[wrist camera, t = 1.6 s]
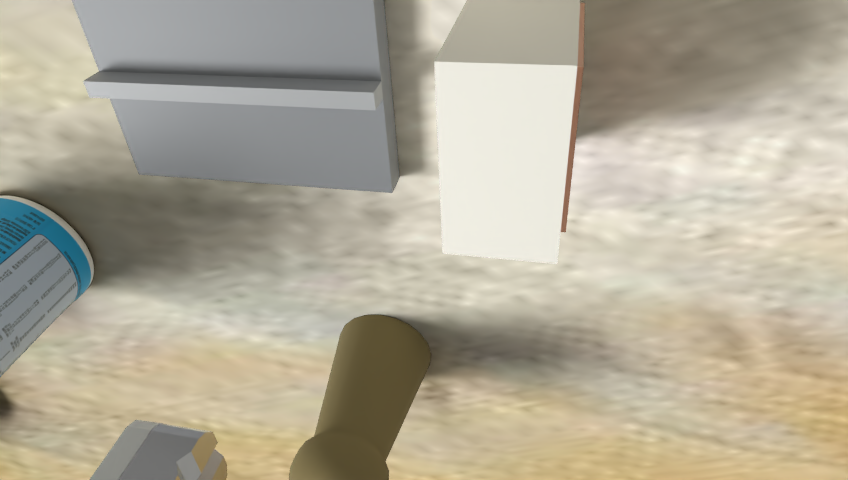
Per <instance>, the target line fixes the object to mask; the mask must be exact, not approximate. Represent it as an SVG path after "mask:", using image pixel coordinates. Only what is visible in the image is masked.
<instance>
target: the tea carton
mask: <svg viewBox="0 0 848 480" xmlns="http://www.w3.org/2000/svg"><path fill="white" fill-rule="evenodd" d="M584 17H585V3H580V0H467V1H466V3H465V5H464V7H463V9H462V11H461V13H460V14H459V16H458V18H457V20H456V22H455V24H454V26H453V28H452V29H451V31H450V33H449V35H448V37H447V39H446V41H445V42H444V44H443V46H442V48H441V50H440V52H439V54H438V55H437V57H436V59H435V61H434V69H435V92H436V115H437V138H438V161H439V184H440V207H441V230H442V253H443V254H453V255H464V256H475V257H486V258H497V259H508V260H519V261H529V262H540V263H551V264H557V262H558V252H559V242H560V232H566V224H567V215H568V205H569V196H570V187H571V178H572V168H573V159H574V150H575V141H576V131H577V122H578V113H579V104H580V94H581V85H582V76H583V65H584Z"/></svg>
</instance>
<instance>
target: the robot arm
mask: <svg viewBox="0 0 848 480" xmlns="http://www.w3.org/2000/svg"><path fill="white" fill-rule="evenodd" d="M217 443H218V442H217V440H216V438H215V436H214V434H213V432H211V431H205V430H198V429H192V428H185V427H179V426H172V425H167V424H162V423H156V422H148V421H141V420H135V421H134V422H132V423H131V424H130V425H129V426H127V427H126V428H125V430H124V431H123V433H122V434H121V436H120V437H119V438H118V440H117V441H116V443H115V444H114V446H113V447H112V448H111V450H110V451H109V453H108V454H107V456H106V457H105V458H104V460H103V461H102V463H101V464H100V466H99V467H98V468H97V470H96V471H95V473H94V474H93V476H92V477H91V478H90V480H226V478H227V464H226V461H225V459H224V456H222V455H221V454H220V453H219V452H218V451H216V450H215V449H214V448H215V447H216V445H217Z"/></svg>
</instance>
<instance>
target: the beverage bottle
mask: <svg viewBox="0 0 848 480" xmlns="http://www.w3.org/2000/svg"><path fill="white" fill-rule="evenodd" d="M93 275H94V265H93V260H92V257H91V254H90V252H89V250H88V248H87V246H86V245H85V243H84V241H83V240H82V239H81V237H80V236H79V235H78V234H77V232H76V231H75V230H74V229H73V228H72V227H71V226H70V225H69V224H68V223H67V222H65V221H64V220H63V219H62V218H61V217H59V216H58V215H56V214H55V213H54V212H52V211H50V210H49V209H47V208H45V207H43V206H42V205H40V204H37V203H35V202H33V201H30V200H27V199H24V198H20V197H15V196H0V377H1V376H2V375H3V374H4V373H5V371H6V370H7V369H8V368H9V367H10V366H11V365H12V364H13V363H14V362H15V361H16V360H17V359H18V358H19V357H20V356H21V355H22V354H23V353H24V352H25V351H26V350H27V349H28V347H29V346H30V345H31V344H32V343H33V342H34V341H35V340H36V339H37V338H38V337H39V336H40V335H41V334H42V333H43V332H44V331H45V330H46V329H47V328H48V327H49V326H50V325H51V324H52V323H53V322H54V321H55V319H56V318H57V317H58V316H59V315H60V314H61V313H62V312H63V311H64V310H65V309H67V308H68V307H69V306H70V305H71V304H72V303H73V302H74V301H75V300H77V299H78V298H79V297H80V296H81V295H82V294H83V293H84V292H85V291H86V290H87V288H88V287H89V286H90V284H91V282H92V279H93Z"/></svg>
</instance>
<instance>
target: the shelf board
mask: <svg viewBox="0 0 848 480" xmlns="http://www.w3.org/2000/svg"><path fill="white" fill-rule="evenodd" d="M72 2H73V5H74V7H75V10H76V12H77V15H78V18H79V20H80V23H81V25H82V28H83V31H84V33H85V36H86V38H87V41H88V44H89V46H90V49H91V51H92V54H93V56H94V59H95V62H96V64H97V67H98V69H99V72H97V73H96V74H94V75H93V76H91V77H89V78H88V79H86V80H84V81H83V82H84V85H85V87H86V90H87V92H88V95H89V97H90V98H110V100H111V103H112V106H113V108H114V111H115V113H116V116H117V119H118V121H119V124H120V126H121V129H122V132H123V134H124V137H125V139H126V142H127V144H128V147H129V150H130V152H131V155H132V157H133V160H134V163H135V165H136V168H137V170H138V173H139V174H141V175H155V176H168V177H182V178H196V179H209V180H223V181H237V182H250V183H264V184H278V185H292V186H305V187H319V188H333V189H346V190H360V191H374V192H388V193H392V192H393V190H394V188H395V186H396V184H397V182H398V180H399V177H400V174H399V163H398V152H397V140H396V129H395V118H394V107H393V95H392V84H391V73H390V62H389V50H388V39H387V28H386V17H385V5H384V0H72Z"/></svg>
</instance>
